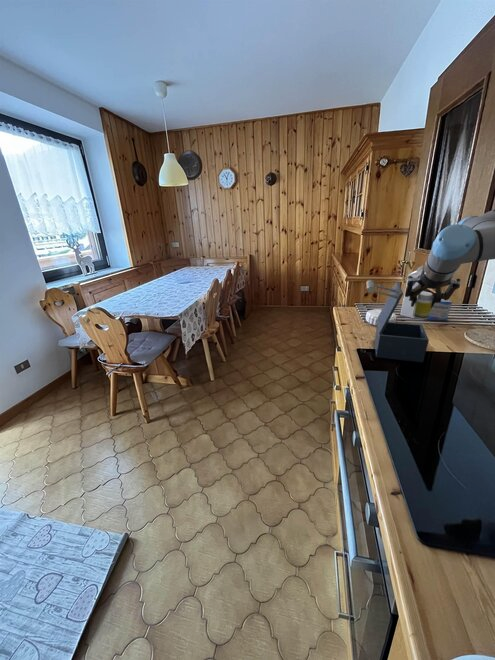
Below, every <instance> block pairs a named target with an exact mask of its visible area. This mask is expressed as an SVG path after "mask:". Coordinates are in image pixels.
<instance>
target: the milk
mask: <svg viewBox="0 0 495 660" xmlns="http://www.w3.org/2000/svg"><path fill="white" fill-rule="evenodd" d="M423 268H424V266H423V265H421V266H419V267H418V268H416V269H417V270H414V271H413V272H411V273H409V274H408V275H407V277H408V276H412V277H413V278H417V277H418V276H419V275H421V273H422V270H423ZM418 284H419V283H417V282H416V283H415V284H414V286H413V287H412V289H414V288H415V287H416V286H417V285H418ZM406 287H407V284H406V285H405V289H404V292H405V291H406ZM411 291H412V290H411ZM422 292H426V290H425V291H422ZM409 297H410V296H409ZM409 297H405V293H403V300H402V305H401V308H400V313H399V315H400V316H403V317H407V318H411V319H416V318H415V317H413V310H414V306H415V304H414V306H413V307H411V301H409ZM417 298H418V295H417Z"/></svg>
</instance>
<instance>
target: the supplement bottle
mask: <svg viewBox="0 0 495 660" xmlns="http://www.w3.org/2000/svg"><path fill="white" fill-rule="evenodd" d="M433 294H434V293H432V292H429V291H425V292H421V293H420V294H419V295H418V298H417V300H416V302H415V306H414V310H413V317H415V318H414V319H418V320H427V318H428V317H429V313H430V309H431V305H432V296H433Z"/></svg>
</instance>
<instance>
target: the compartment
mask: <svg viewBox="0 0 495 660" xmlns="http://www.w3.org/2000/svg"><path fill="white" fill-rule="evenodd" d="M429 342H430V339H429V336H428V335H427V332H426V331H425V328H424V325H423V324H421V323H407V322H397V321H396V322H388V323H387V325H386V327H385V329H384V330H383V332H382V334H379V330H378V323H377V326H376V328H375V335H374V350H375V357H376V358H378V359H379V358H380V359H389V360H398V361H407V362H415V363H424V360H425V357H426V352H427V349H428V345H429Z"/></svg>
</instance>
